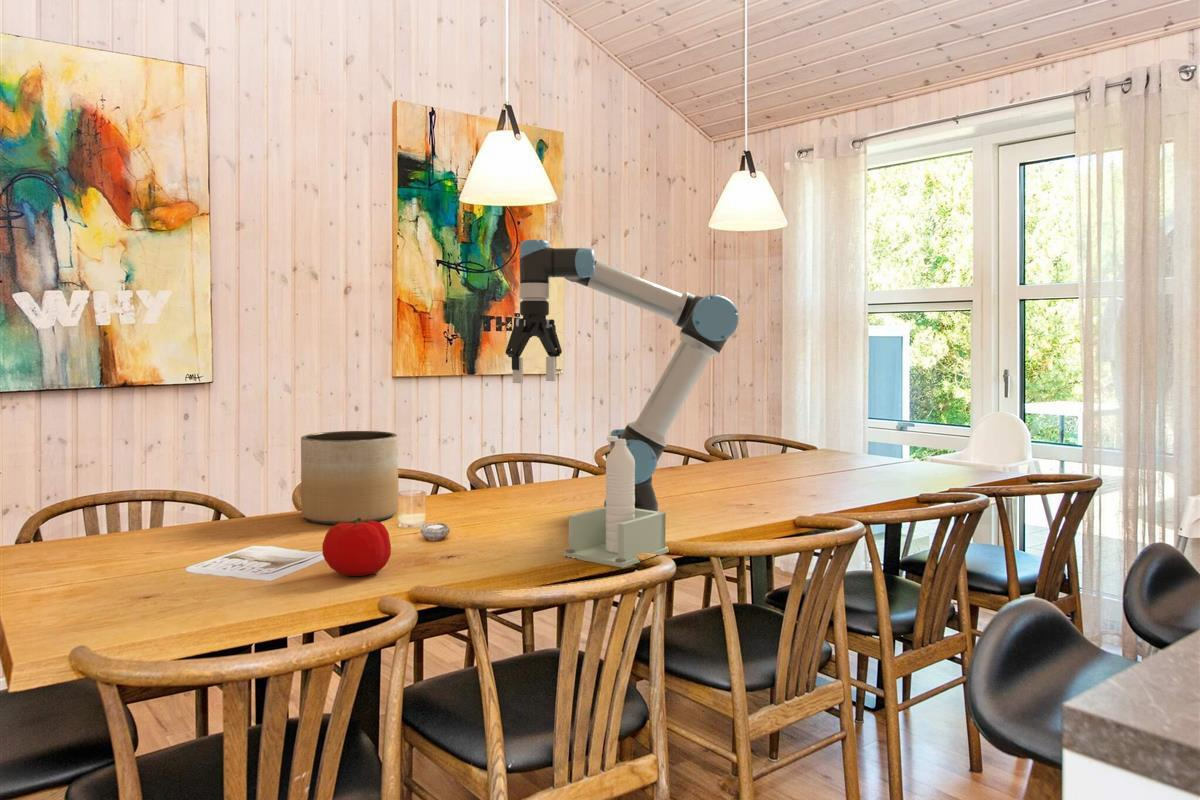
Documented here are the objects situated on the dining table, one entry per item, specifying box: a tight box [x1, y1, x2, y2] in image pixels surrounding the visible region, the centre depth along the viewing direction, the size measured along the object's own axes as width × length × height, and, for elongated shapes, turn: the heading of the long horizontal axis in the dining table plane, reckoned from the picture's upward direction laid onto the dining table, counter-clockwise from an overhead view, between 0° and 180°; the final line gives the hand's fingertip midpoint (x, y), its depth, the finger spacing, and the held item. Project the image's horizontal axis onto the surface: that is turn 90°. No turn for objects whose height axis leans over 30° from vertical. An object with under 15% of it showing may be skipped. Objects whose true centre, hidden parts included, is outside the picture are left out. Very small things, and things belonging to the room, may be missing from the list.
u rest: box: [563, 506, 669, 569], centre depth 196 cm, size 18×16×9 cm
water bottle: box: [605, 435, 635, 553], centre depth 195 cm, size 9×6×25 cm
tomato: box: [321, 518, 392, 577], centre depth 178 cm, size 12×13×12 cm
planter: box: [300, 430, 400, 525], centre depth 237 cm, size 25×25×22 cm
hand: (534, 382), depth 229 cm, fingers open, 13 cm apart
